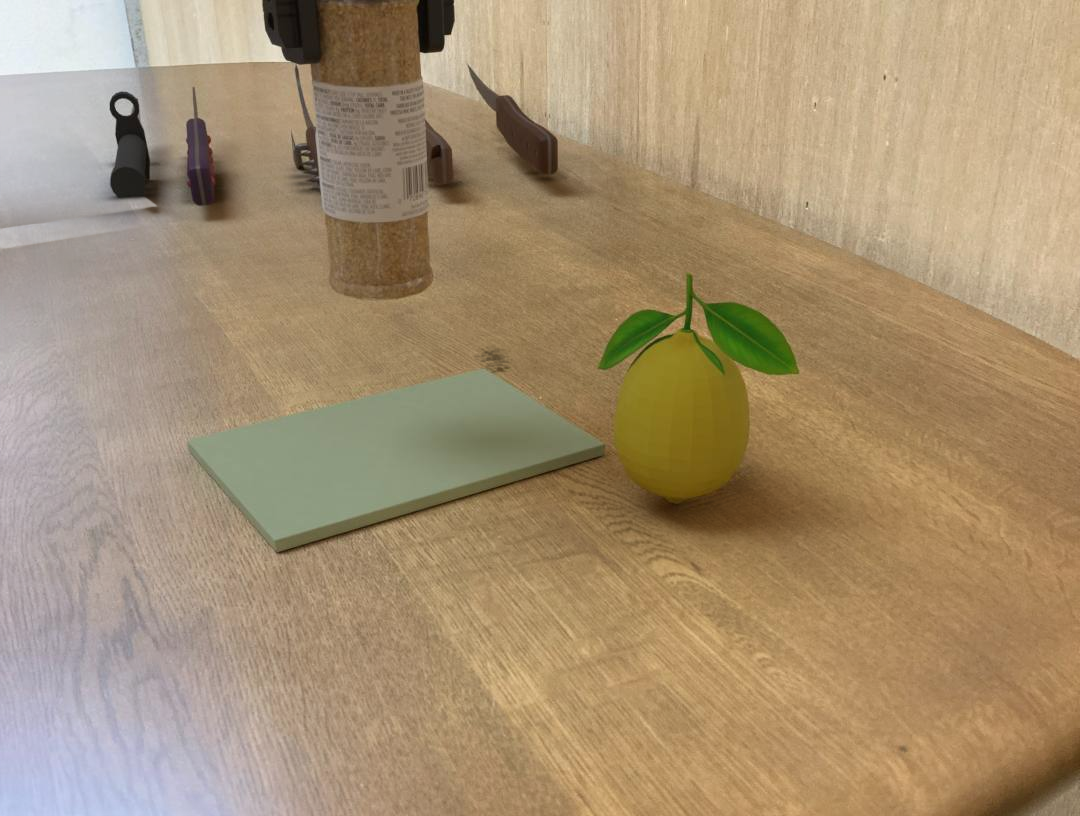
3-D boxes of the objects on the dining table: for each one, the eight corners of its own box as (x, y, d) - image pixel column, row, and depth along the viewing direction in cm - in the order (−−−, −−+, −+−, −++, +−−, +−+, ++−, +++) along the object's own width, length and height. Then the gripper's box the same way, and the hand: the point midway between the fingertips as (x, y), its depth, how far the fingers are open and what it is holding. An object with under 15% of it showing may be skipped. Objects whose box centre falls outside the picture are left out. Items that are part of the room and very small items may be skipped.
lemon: (781, 528, 47) (809, 290, 42) (650, 553, 45) (663, 309, 40) (706, 459, 52) (723, 242, 47) (587, 479, 50) (591, 257, 45)
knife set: (476, 111, 120) (473, 31, 116) (561, 202, 94) (561, 104, 89) (131, 137, 113) (114, 54, 109) (117, 245, 86) (94, 140, 82)
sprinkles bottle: (377, 265, 52) (353, -71, 45) (456, 283, 49) (443, -68, 43) (305, 291, 48) (267, -67, 42) (385, 312, 46) (359, -63, 39)
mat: (276, 553, 45) (274, 540, 45) (188, 450, 53) (186, 439, 53) (605, 455, 53) (605, 443, 52) (484, 378, 61) (484, 367, 60)
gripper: (461, -476, 42) (475, 33, 50) (54, -541, 35) (151, 59, 44) (578, -527, 36) (571, 53, 45) (122, -616, 29) (217, 87, 38)
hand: (364, 53), depth 44 cm, fingers closed on sprinkles bottle, 4 cm apart
